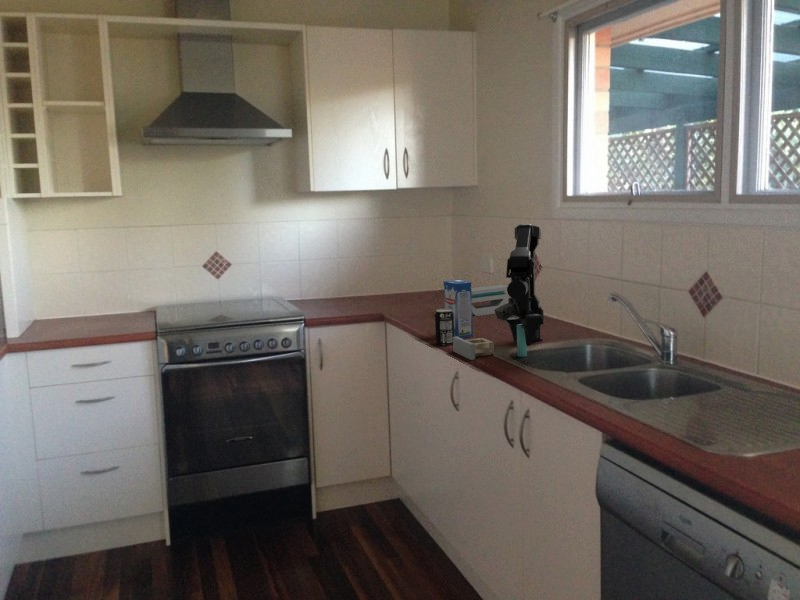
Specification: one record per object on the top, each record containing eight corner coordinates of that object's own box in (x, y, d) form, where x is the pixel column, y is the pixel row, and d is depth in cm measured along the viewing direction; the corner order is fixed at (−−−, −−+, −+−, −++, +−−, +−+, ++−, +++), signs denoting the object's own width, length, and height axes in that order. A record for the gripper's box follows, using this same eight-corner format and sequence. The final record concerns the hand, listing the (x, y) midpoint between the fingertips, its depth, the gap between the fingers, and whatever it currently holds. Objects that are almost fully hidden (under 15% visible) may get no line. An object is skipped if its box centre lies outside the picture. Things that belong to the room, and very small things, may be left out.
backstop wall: (457, 351, 242) (457, 336, 241) (475, 359, 228) (474, 343, 228) (453, 351, 241) (452, 336, 240) (470, 359, 228) (470, 344, 227)
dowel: (524, 354, 232) (523, 323, 231) (528, 356, 229) (528, 325, 228) (515, 355, 231) (515, 324, 230) (520, 357, 228) (519, 326, 227)
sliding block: (483, 349, 241) (482, 337, 241) (493, 354, 234) (493, 342, 233) (461, 352, 239) (460, 340, 238) (471, 357, 231) (470, 344, 231)
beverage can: (443, 341, 259) (442, 308, 257) (458, 342, 254) (457, 309, 253) (432, 344, 254) (430, 310, 252) (447, 346, 249) (446, 312, 248)
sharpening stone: (462, 317, 305) (461, 292, 303) (453, 315, 311) (452, 290, 310) (511, 311, 315) (511, 286, 314) (501, 308, 322) (500, 284, 321)
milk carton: (445, 334, 271) (443, 281, 268) (460, 332, 273) (458, 279, 270) (457, 338, 262) (456, 283, 259) (473, 336, 264) (471, 282, 261)
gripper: (484, 293, 234) (486, 340, 236) (511, 300, 216) (512, 351, 218) (515, 290, 237) (516, 337, 239) (544, 297, 220) (545, 347, 222)
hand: (521, 343), depth 230 cm, fingers open, 8 cm apart
